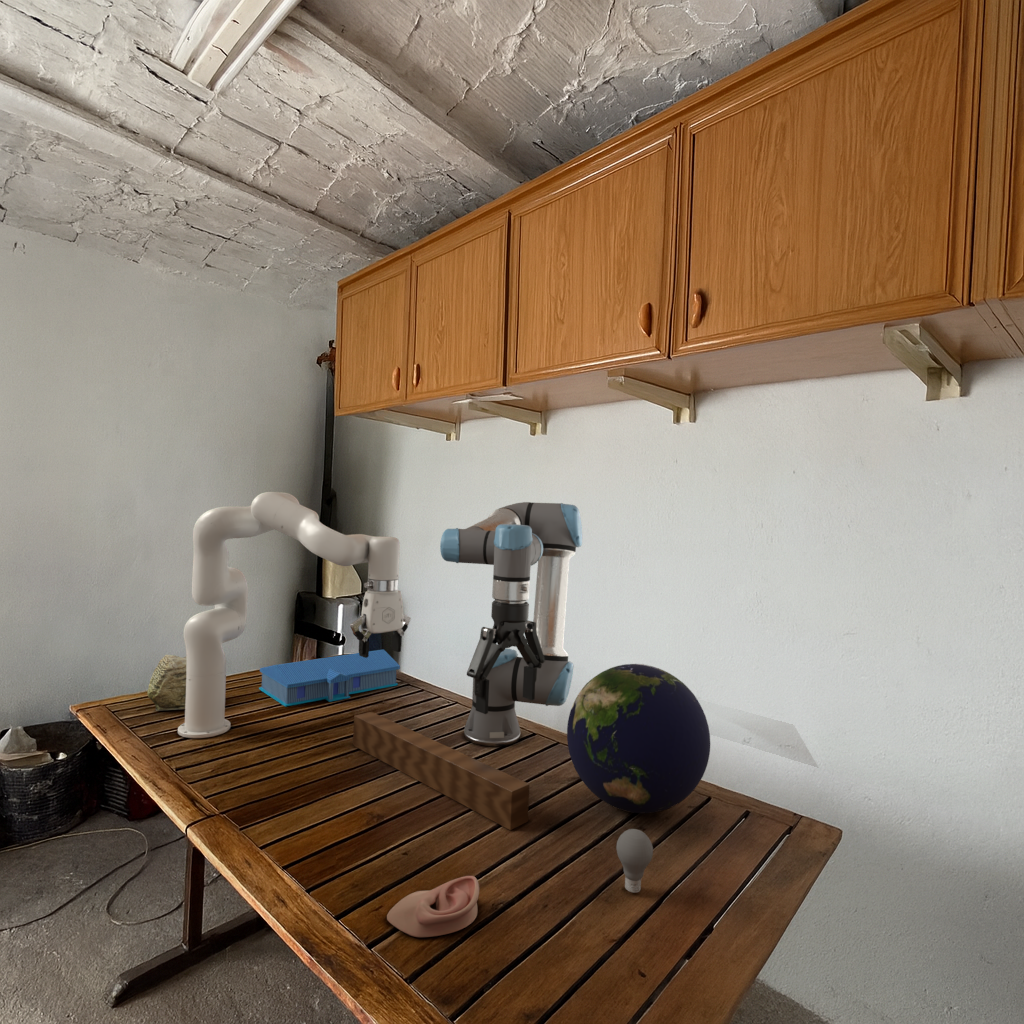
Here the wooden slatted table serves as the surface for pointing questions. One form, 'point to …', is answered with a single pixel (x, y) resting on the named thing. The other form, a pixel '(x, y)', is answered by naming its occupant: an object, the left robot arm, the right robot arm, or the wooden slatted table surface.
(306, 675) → the model building
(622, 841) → the light bulb
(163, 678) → the fossil
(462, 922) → the anatomical model
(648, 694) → the globe
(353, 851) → the wooden slatted table surface
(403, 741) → the beam
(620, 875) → the wooden slatted table surface
